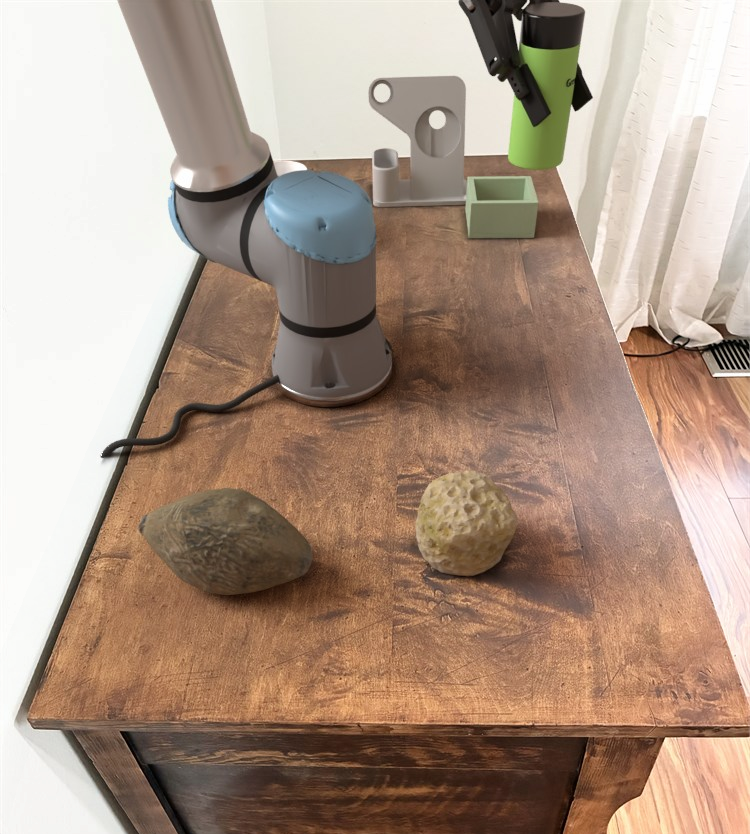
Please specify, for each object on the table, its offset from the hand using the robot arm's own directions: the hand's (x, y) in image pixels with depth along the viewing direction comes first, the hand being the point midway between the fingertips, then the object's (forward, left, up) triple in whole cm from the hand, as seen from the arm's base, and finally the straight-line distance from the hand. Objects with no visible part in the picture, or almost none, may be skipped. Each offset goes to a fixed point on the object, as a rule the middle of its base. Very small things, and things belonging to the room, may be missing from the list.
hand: (563, 112), depth 94 cm
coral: (-48, -25, -24) cm, 59 cm away
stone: (-65, -10, -24) cm, 70 cm away
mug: (-13, +41, -24) cm, 49 cm away
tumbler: (0, +3, -7) cm, 8 cm away
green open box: (+12, +17, -24) cm, 31 cm away
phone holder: (+13, +35, -24) cm, 44 cm away
